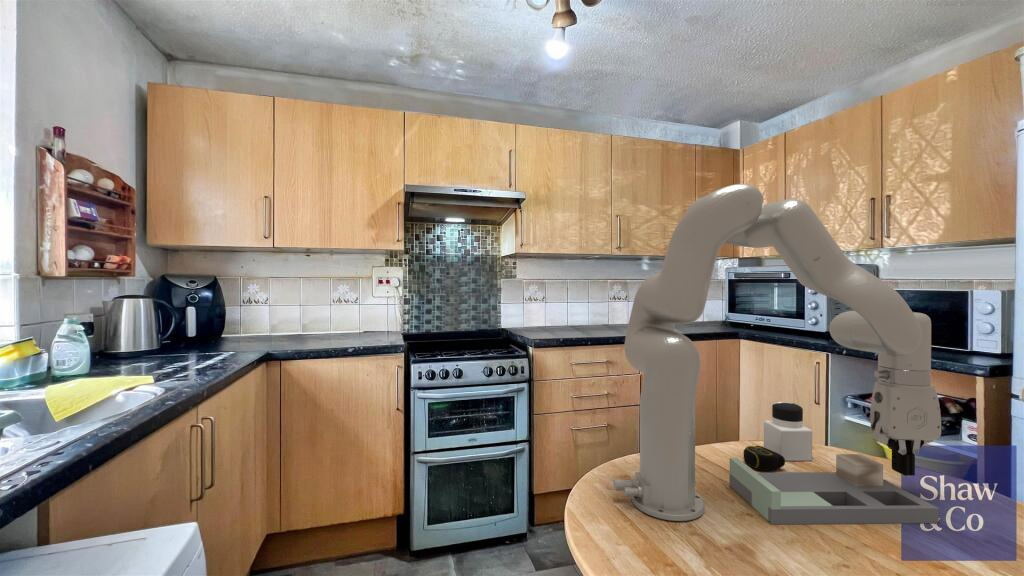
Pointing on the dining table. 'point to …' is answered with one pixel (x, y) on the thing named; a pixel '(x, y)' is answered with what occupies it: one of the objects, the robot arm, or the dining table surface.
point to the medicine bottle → (788, 433)
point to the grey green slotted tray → (826, 499)
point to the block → (859, 470)
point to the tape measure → (763, 458)
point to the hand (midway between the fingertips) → (902, 472)
